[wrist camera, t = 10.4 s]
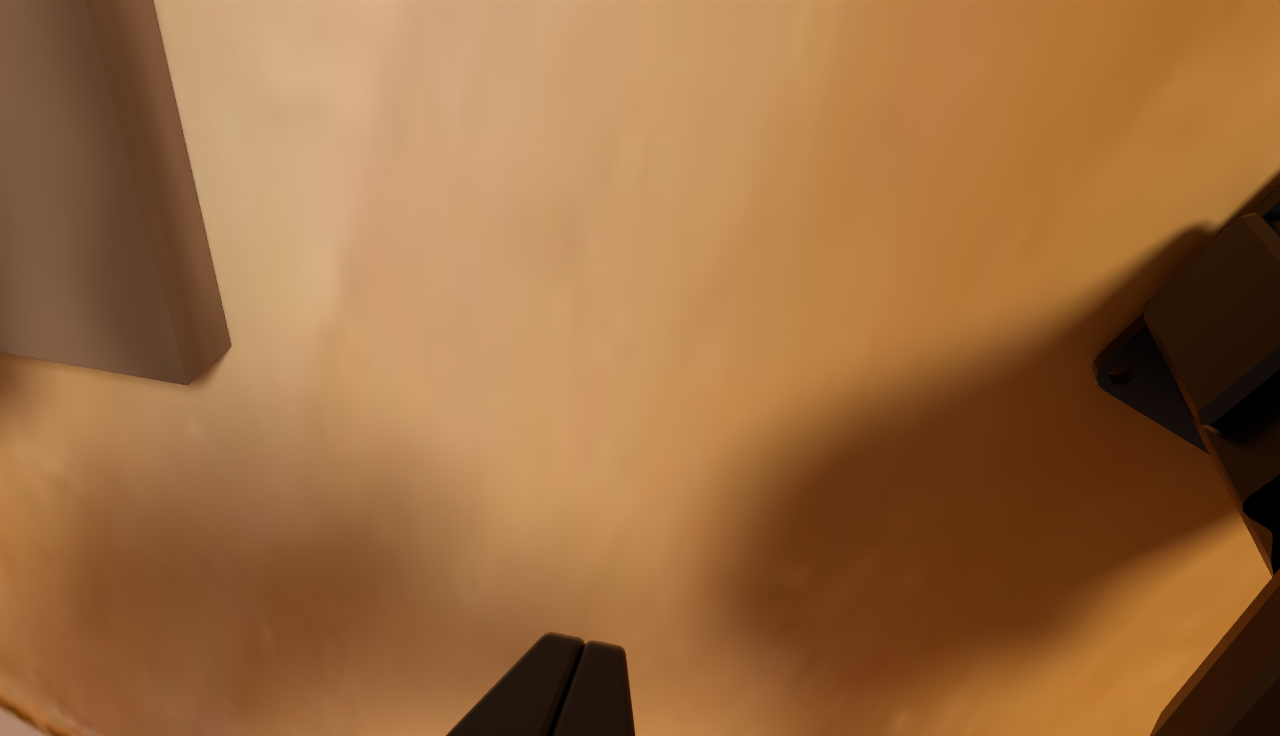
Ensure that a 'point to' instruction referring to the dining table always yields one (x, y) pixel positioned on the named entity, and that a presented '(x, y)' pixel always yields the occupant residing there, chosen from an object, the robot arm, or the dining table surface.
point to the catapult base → (99, 197)
